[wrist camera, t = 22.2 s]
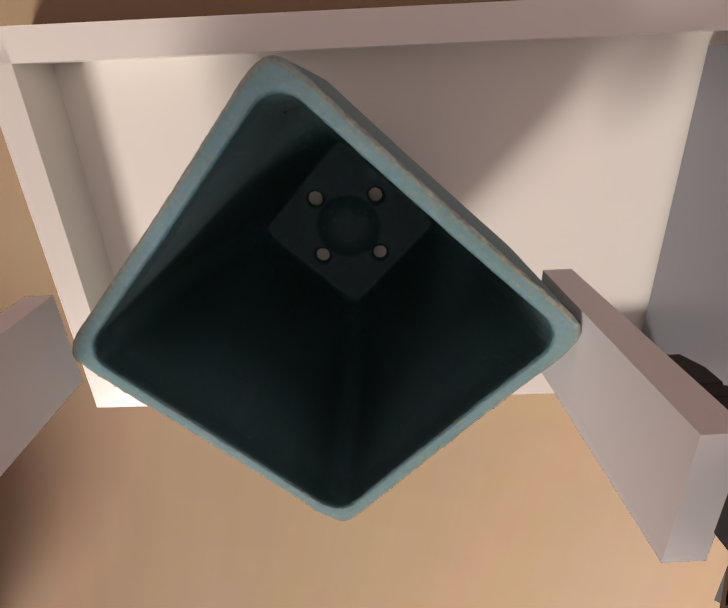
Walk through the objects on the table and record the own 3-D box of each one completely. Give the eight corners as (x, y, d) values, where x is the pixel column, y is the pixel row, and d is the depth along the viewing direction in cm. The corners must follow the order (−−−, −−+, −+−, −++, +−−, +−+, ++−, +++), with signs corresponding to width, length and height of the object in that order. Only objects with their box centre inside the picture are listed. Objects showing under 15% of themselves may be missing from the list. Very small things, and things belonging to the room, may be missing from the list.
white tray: (128, 367, 24) (85, 423, 20) (28, 33, 17) (-60, 25, 14) (814, 345, 23) (898, 397, 19) (961, -13, 17) (1125, -35, 13)
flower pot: (516, 213, 19) (597, 337, 11) (365, 357, 22) (341, 532, 14) (334, 43, 16) (265, 39, 9) (199, 232, 20) (61, 355, 12)
